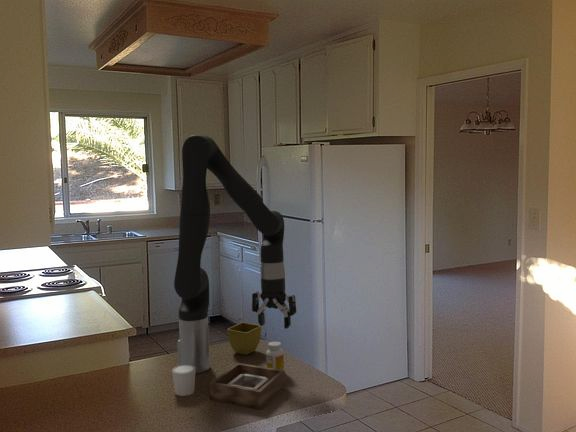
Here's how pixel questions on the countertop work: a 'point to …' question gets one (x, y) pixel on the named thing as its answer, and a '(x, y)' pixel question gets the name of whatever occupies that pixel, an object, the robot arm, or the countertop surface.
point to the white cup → (184, 379)
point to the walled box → (247, 385)
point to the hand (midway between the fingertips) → (274, 326)
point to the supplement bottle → (275, 356)
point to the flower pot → (244, 337)
